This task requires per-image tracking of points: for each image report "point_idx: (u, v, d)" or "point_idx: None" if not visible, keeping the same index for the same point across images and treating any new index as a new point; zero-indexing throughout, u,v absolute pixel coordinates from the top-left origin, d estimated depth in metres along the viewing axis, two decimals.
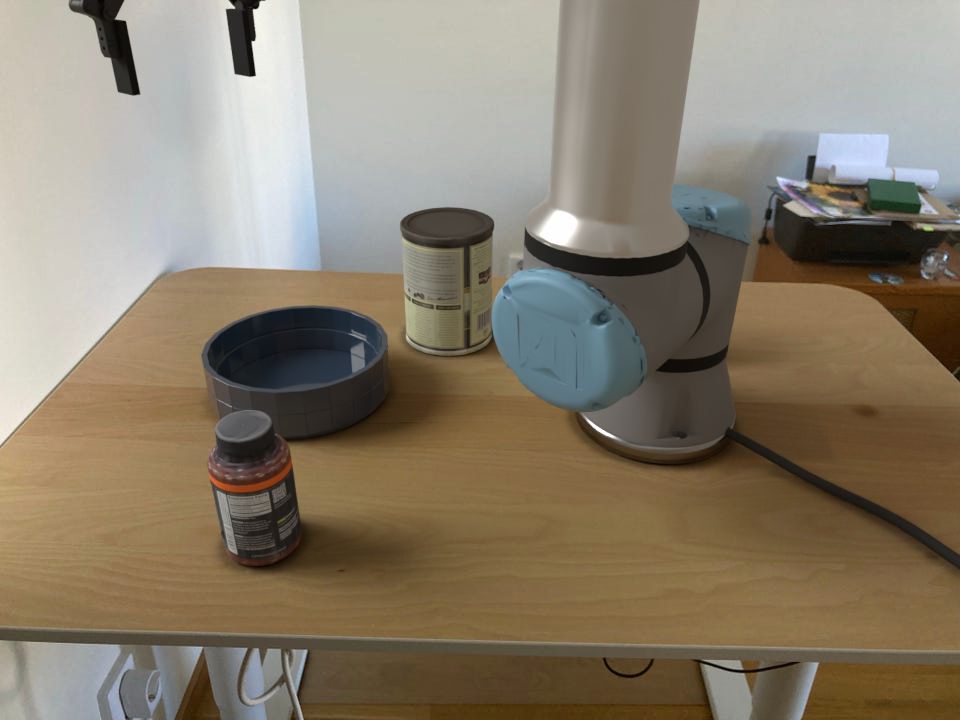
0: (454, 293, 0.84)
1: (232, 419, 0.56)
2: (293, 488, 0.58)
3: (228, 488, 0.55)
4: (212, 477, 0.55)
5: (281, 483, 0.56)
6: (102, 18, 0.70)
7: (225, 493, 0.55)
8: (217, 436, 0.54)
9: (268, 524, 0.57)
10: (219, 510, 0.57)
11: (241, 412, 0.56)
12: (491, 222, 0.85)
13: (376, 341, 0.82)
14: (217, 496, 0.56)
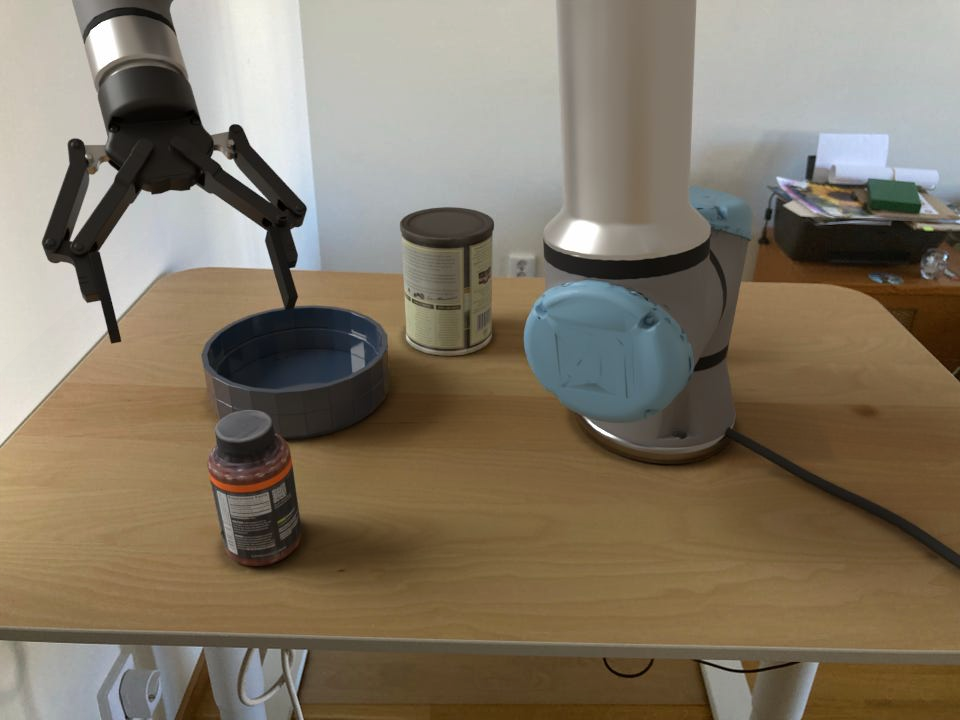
0: (454, 292, 0.84)
1: (232, 419, 0.56)
2: (293, 488, 0.58)
3: (228, 488, 0.55)
4: (212, 477, 0.55)
5: (281, 483, 0.56)
6: (72, 255, 0.59)
7: (225, 493, 0.55)
8: (217, 436, 0.54)
9: (268, 524, 0.57)
10: (219, 510, 0.57)
11: (241, 412, 0.56)
12: (491, 222, 0.85)
13: (376, 341, 0.82)
14: (217, 496, 0.56)
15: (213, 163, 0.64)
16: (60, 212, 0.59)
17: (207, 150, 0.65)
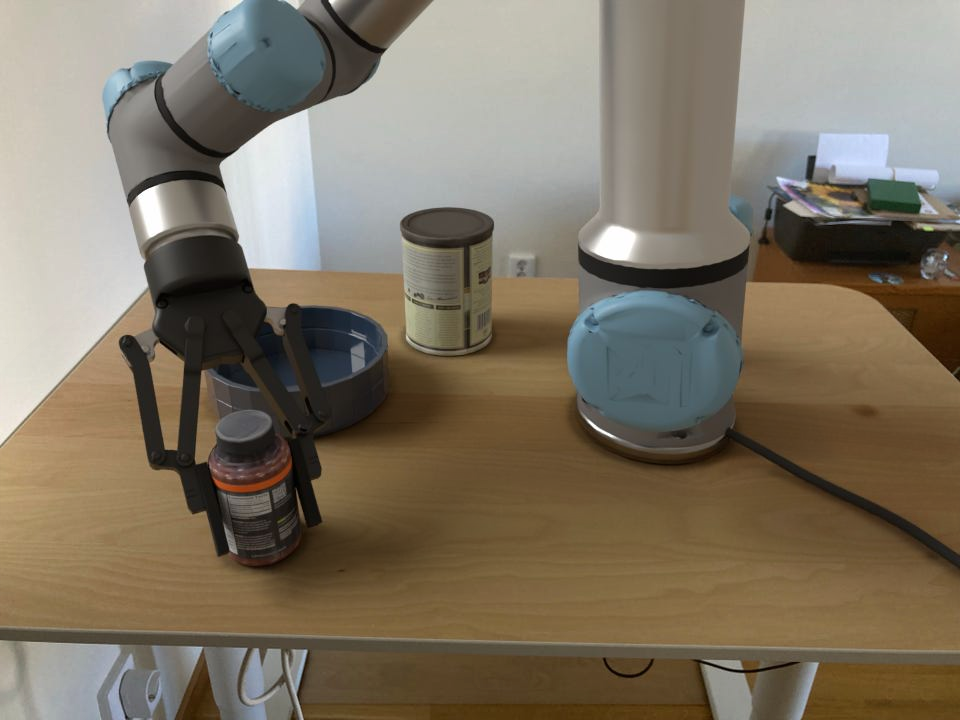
0: (454, 292, 0.84)
1: (232, 419, 0.56)
2: (293, 488, 0.58)
3: (228, 488, 0.55)
4: (212, 477, 0.55)
5: (282, 483, 0.56)
6: (182, 468, 0.55)
7: (225, 493, 0.55)
8: (217, 436, 0.54)
9: (268, 524, 0.57)
10: None
11: (241, 412, 0.57)
12: (491, 222, 0.85)
13: (376, 341, 0.82)
14: (217, 496, 0.56)
15: (257, 348, 0.59)
16: (149, 420, 0.55)
17: None
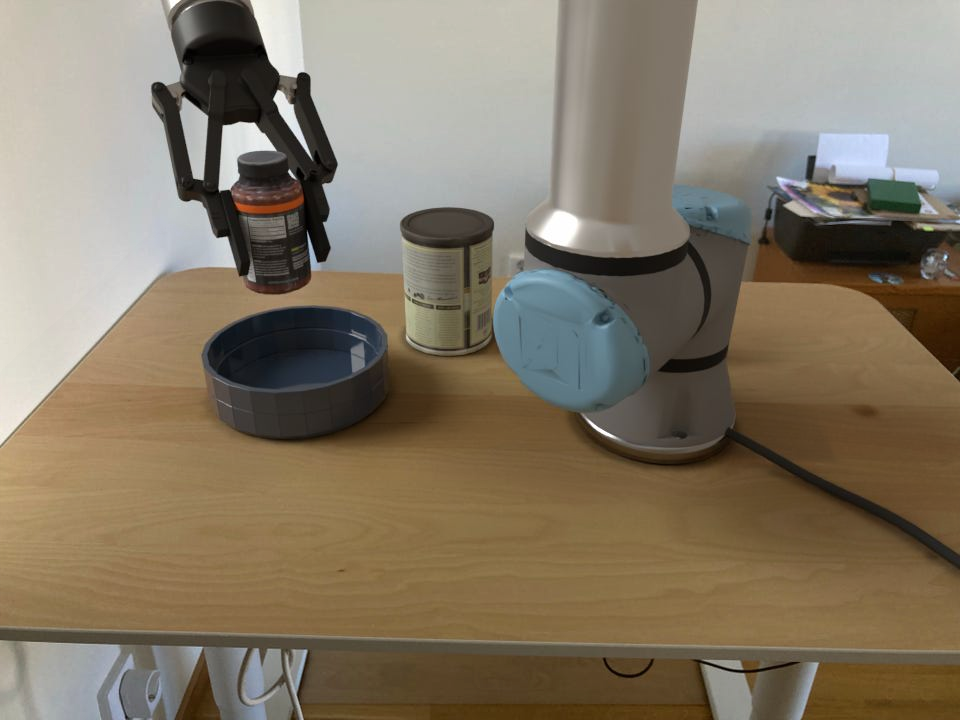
0: (454, 292, 0.84)
1: (251, 154, 0.63)
2: (305, 224, 0.66)
3: (248, 210, 0.62)
4: (234, 202, 0.63)
5: (295, 211, 0.64)
6: (208, 194, 0.63)
7: (246, 215, 0.63)
8: (239, 162, 0.62)
9: (283, 250, 0.64)
10: None
11: (259, 151, 0.64)
12: (491, 222, 0.85)
13: (376, 341, 0.82)
14: None
15: (272, 103, 0.66)
16: (178, 151, 0.63)
17: None
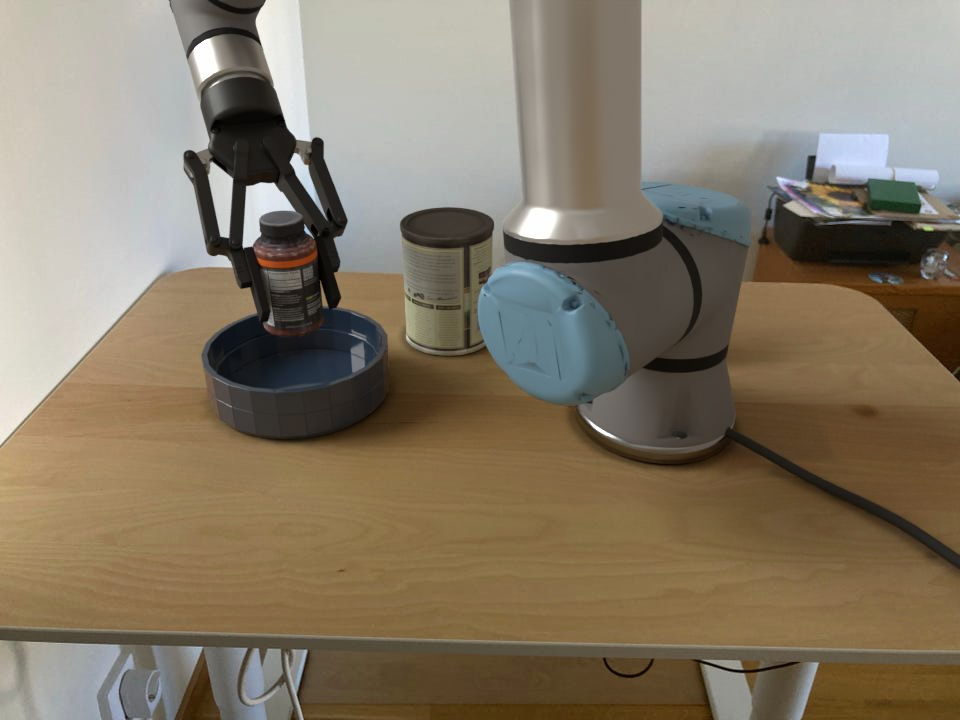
0: (454, 292, 0.84)
1: (271, 214, 0.72)
2: (318, 275, 0.74)
3: (269, 265, 0.71)
4: (256, 257, 0.71)
5: (310, 265, 0.72)
6: (233, 251, 0.71)
7: (267, 269, 0.71)
8: (261, 223, 0.70)
9: (299, 299, 0.73)
10: None
11: (278, 211, 0.73)
12: (491, 222, 0.85)
13: (376, 341, 0.82)
14: (260, 274, 0.72)
15: (289, 167, 0.75)
16: (207, 213, 0.71)
17: None
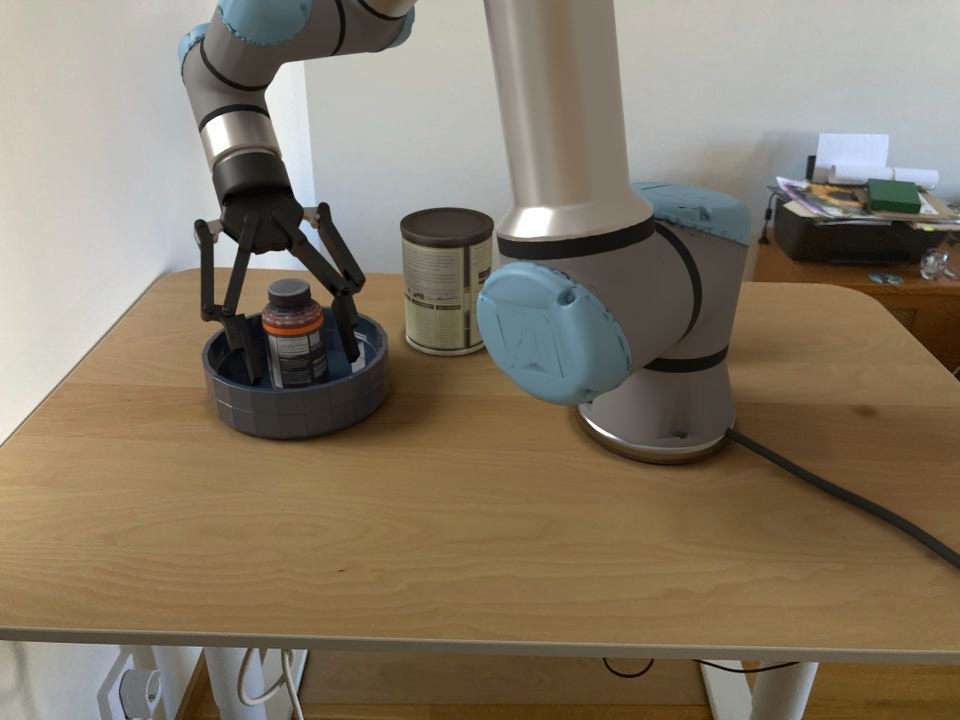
0: (454, 292, 0.84)
1: (279, 283, 0.75)
2: (324, 338, 0.77)
3: (277, 332, 0.74)
4: (265, 325, 0.75)
5: (316, 331, 0.75)
6: (224, 317, 0.74)
7: (275, 336, 0.74)
8: (270, 293, 0.74)
9: (306, 363, 0.76)
10: (270, 352, 0.76)
11: (286, 279, 0.76)
12: (491, 222, 0.85)
13: (376, 341, 0.82)
14: (269, 340, 0.75)
15: (301, 234, 0.78)
16: (206, 281, 0.74)
17: (297, 219, 0.80)
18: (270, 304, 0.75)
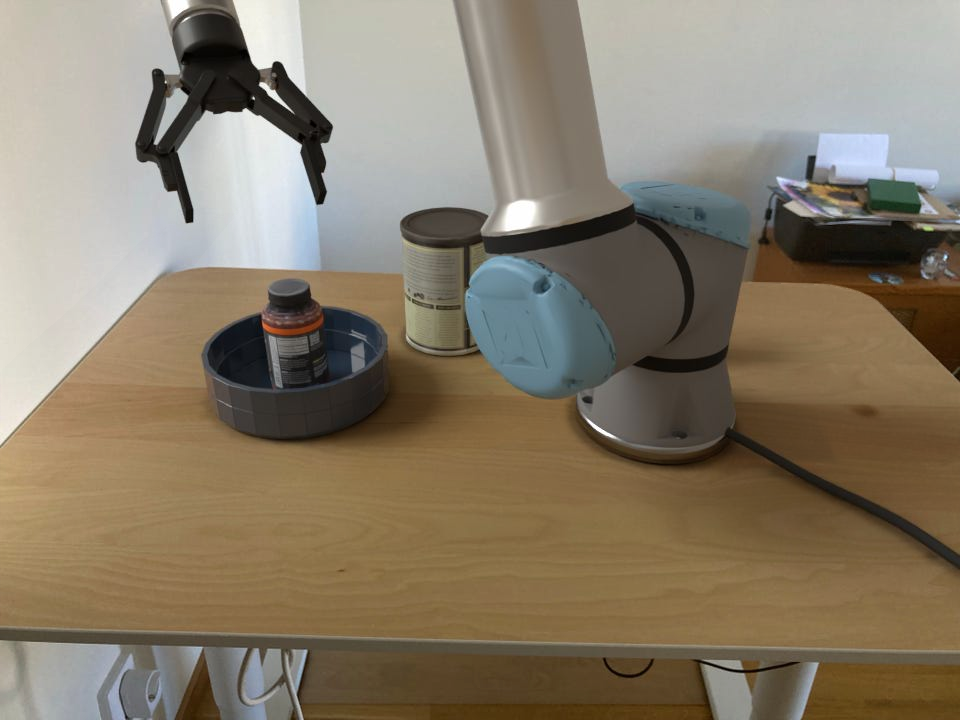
0: (454, 292, 0.84)
1: (279, 283, 0.75)
2: (324, 338, 0.77)
3: (277, 332, 0.74)
4: (265, 325, 0.75)
5: (316, 331, 0.75)
6: (157, 154, 0.77)
7: (275, 336, 0.74)
8: (270, 293, 0.74)
9: (306, 363, 0.76)
10: (270, 352, 0.76)
11: (286, 279, 0.76)
12: None
13: (376, 341, 0.82)
14: (269, 340, 0.75)
15: (261, 89, 0.83)
16: (147, 122, 0.78)
17: (256, 80, 0.84)
18: (270, 304, 0.75)
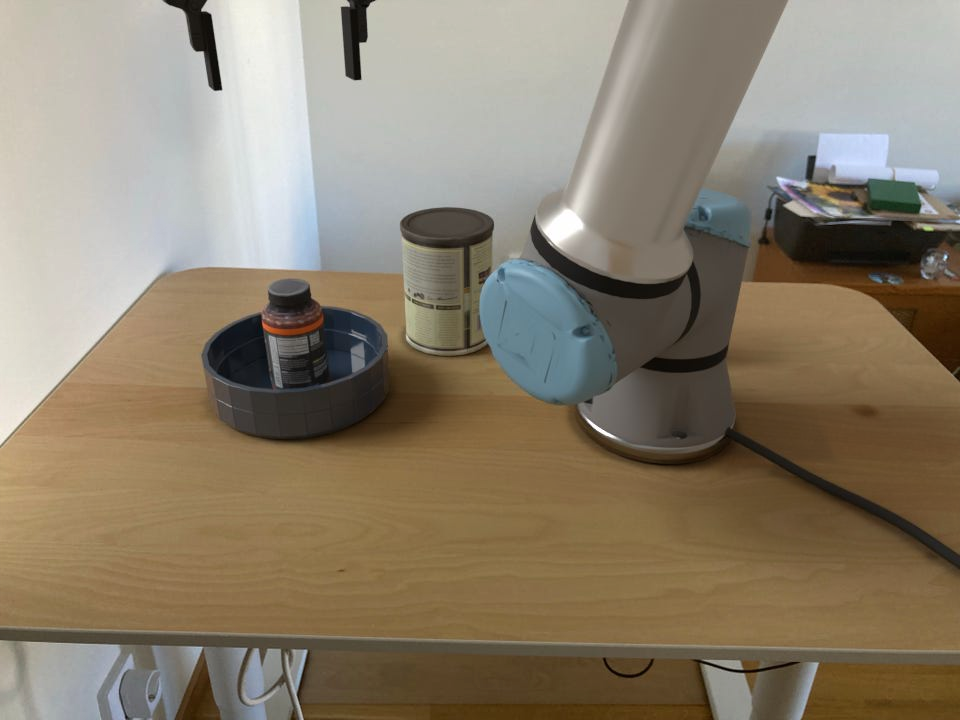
0: (454, 292, 0.84)
1: (279, 283, 0.75)
2: (324, 338, 0.77)
3: (277, 332, 0.74)
4: (265, 325, 0.75)
5: (316, 331, 0.75)
6: (187, 10, 0.68)
7: (275, 336, 0.74)
8: (270, 293, 0.74)
9: (306, 363, 0.76)
10: (270, 352, 0.76)
11: (286, 279, 0.76)
12: (491, 222, 0.85)
13: (376, 341, 0.82)
14: (269, 340, 0.75)
15: None
16: None
17: None
18: (270, 304, 0.75)
